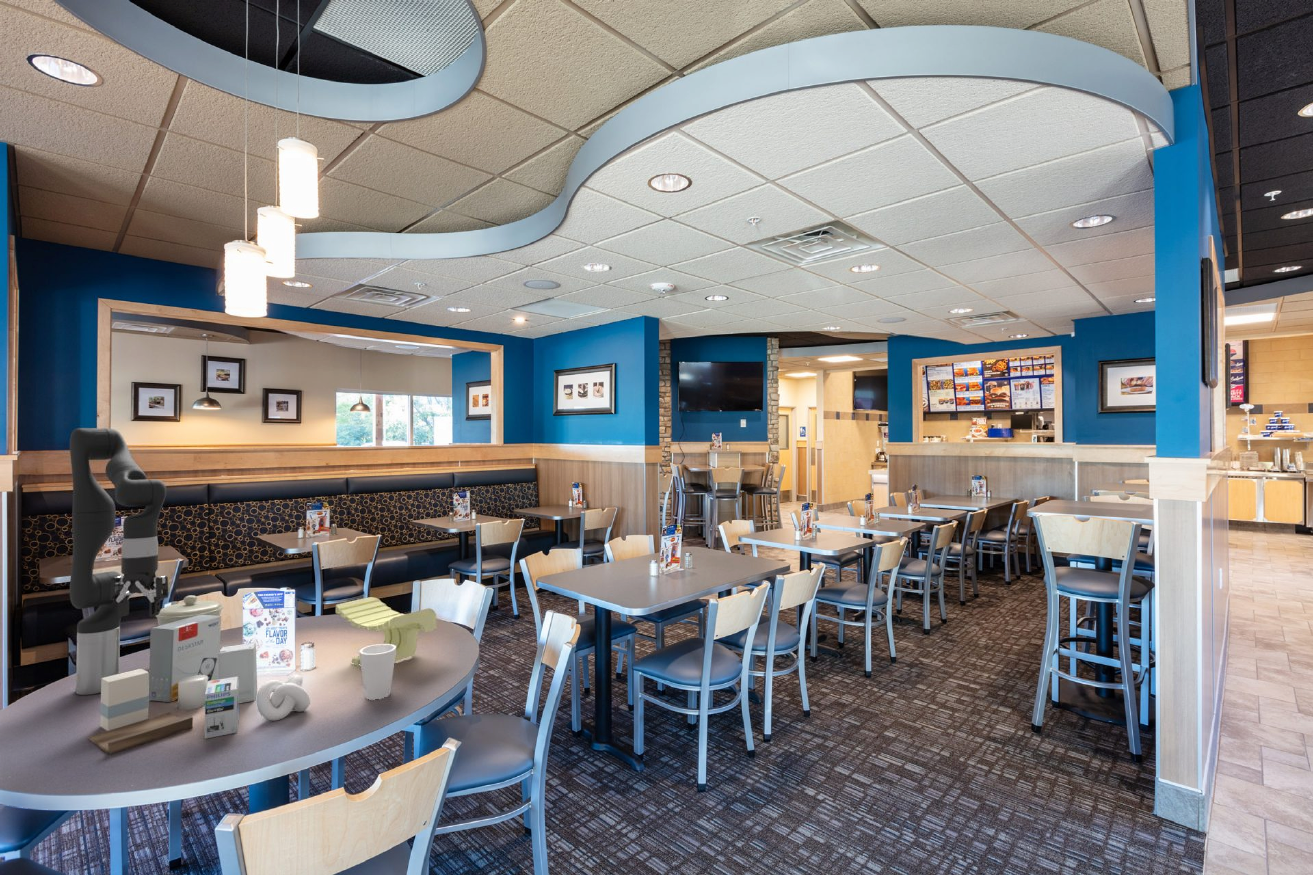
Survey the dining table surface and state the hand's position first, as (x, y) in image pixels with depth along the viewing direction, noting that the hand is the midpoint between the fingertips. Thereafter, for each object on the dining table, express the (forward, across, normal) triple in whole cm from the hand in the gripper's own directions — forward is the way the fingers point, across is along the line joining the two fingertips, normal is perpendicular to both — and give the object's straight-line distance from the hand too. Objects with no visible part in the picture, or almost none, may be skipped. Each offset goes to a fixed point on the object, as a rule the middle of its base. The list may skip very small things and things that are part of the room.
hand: (138, 615), depth 164 cm
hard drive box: (+25, -1, -14) cm, 29 cm away
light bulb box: (+26, -30, +7) cm, 40 cm away
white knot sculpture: (+26, -39, -2) cm, 47 cm away
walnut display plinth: (+25, -12, +12) cm, 31 cm away
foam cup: (+26, -58, -15) cm, 65 cm away
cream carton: (+25, -3, +6) cm, 26 cm away
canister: (+24, +19, -39) cm, 49 cm away
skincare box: (+25, -21, -9) cm, 34 cm away
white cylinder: (+25, -11, -5) cm, 28 cm away
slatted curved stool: (+25, -45, -44) cm, 67 cm away
